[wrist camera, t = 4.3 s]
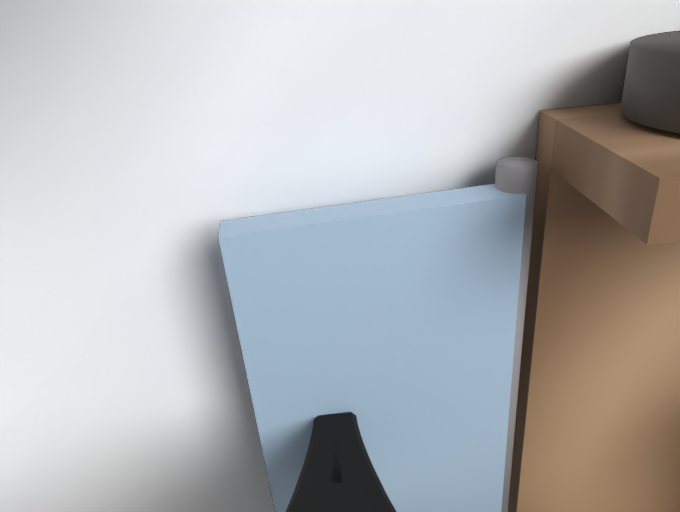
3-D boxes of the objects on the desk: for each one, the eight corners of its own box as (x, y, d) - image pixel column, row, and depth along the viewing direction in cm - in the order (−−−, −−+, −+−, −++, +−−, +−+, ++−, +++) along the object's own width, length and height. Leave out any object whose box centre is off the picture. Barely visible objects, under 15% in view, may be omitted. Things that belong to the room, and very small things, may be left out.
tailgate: (547, 167, 10) (212, 212, 10) (509, 567, 16) (295, 612, 15) (520, 151, 11) (216, 190, 11) (493, 531, 17) (292, 572, 16)
